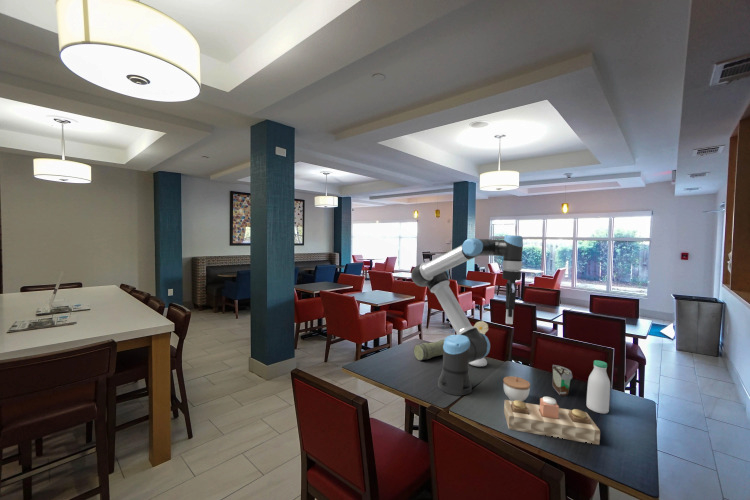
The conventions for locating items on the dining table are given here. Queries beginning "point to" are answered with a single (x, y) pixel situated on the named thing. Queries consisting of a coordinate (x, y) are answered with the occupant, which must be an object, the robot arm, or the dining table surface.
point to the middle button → (549, 407)
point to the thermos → (428, 350)
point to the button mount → (551, 424)
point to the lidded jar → (516, 388)
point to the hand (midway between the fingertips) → (509, 323)
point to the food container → (561, 379)
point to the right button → (579, 416)
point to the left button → (519, 407)
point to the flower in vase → (482, 328)
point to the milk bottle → (598, 388)
